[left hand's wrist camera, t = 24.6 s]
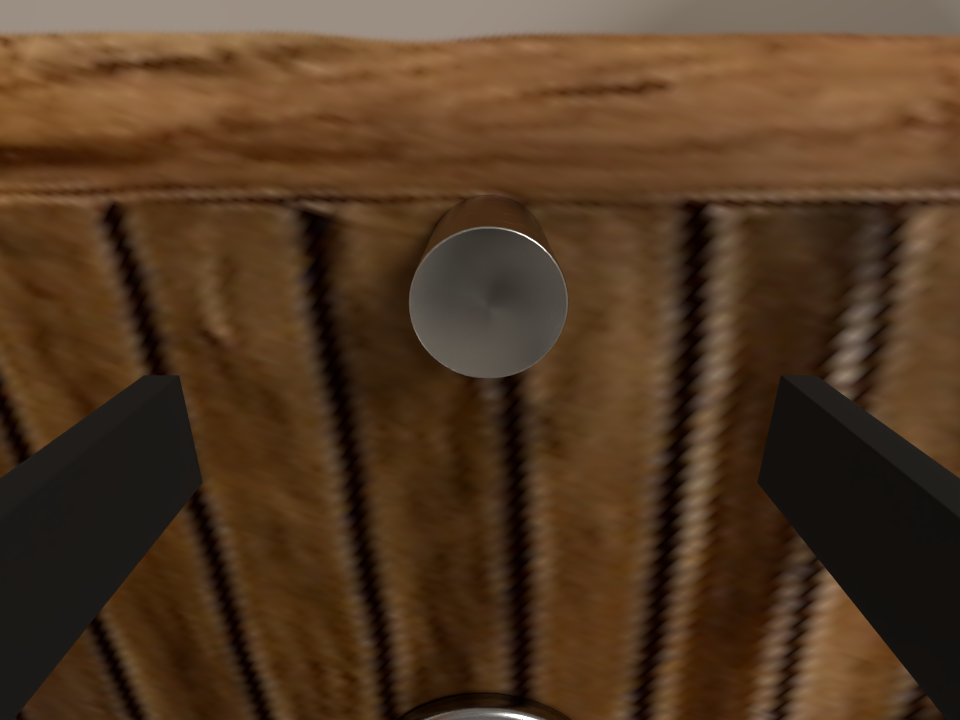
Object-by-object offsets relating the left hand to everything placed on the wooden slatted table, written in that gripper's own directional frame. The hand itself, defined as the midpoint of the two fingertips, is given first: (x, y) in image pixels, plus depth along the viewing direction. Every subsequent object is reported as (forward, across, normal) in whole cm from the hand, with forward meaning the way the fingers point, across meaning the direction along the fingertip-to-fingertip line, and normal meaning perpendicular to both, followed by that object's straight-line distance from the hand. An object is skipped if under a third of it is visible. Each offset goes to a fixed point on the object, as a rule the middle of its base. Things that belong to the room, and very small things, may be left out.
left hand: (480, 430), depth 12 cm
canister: (+14, 0, -1) cm, 14 cm away
